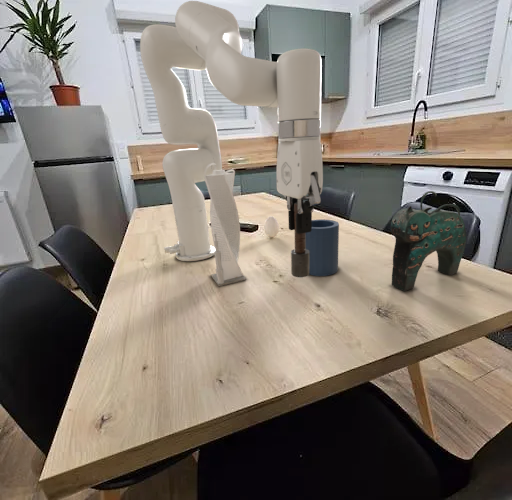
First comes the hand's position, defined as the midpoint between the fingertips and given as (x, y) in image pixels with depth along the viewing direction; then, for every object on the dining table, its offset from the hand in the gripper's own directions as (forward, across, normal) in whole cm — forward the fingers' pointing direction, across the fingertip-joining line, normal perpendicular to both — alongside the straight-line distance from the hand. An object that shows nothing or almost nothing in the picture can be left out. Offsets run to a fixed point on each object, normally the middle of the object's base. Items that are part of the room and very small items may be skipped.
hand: (300, 230), depth 59 cm
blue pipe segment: (+15, -9, +11) cm, 21 cm away
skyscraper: (+15, -17, -11) cm, 25 cm away
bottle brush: (+10, 0, 0) cm, 10 cm away
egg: (+15, -42, +13) cm, 47 cm away
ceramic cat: (+14, +8, +27) cm, 32 cm away
